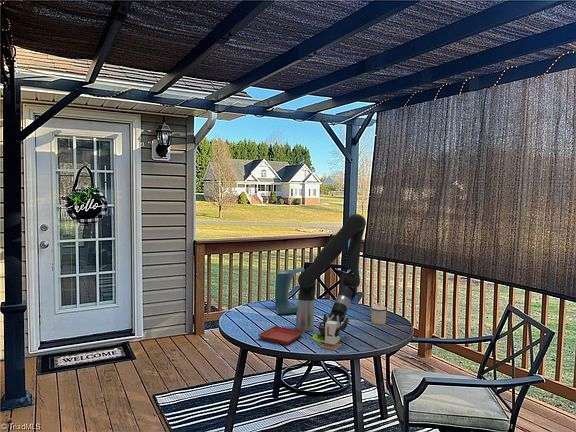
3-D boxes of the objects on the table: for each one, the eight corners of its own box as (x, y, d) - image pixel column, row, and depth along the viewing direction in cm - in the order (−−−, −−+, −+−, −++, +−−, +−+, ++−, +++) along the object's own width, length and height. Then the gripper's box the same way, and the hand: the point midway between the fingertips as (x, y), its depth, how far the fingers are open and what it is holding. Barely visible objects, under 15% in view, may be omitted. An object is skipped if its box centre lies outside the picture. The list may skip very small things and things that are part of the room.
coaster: (320, 347, 206) (320, 345, 206) (327, 342, 213) (327, 341, 213) (335, 350, 202) (335, 349, 202) (341, 346, 209) (341, 344, 209)
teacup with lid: (389, 323, 251) (389, 304, 251) (378, 325, 246) (379, 306, 246) (375, 318, 261) (375, 300, 261) (364, 320, 256) (364, 301, 256)
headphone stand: (315, 307, 284) (314, 266, 285) (311, 316, 257) (310, 271, 257) (277, 307, 288) (276, 267, 288) (270, 316, 260) (268, 272, 261)
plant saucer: (287, 347, 206) (288, 341, 206) (257, 340, 215) (257, 334, 215) (304, 337, 222) (304, 331, 222) (275, 331, 231) (275, 325, 230)
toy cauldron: (346, 338, 221) (347, 318, 221) (328, 345, 211) (329, 323, 210) (324, 331, 232) (324, 312, 231) (306, 337, 221) (307, 317, 220)
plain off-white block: (324, 342, 207) (325, 322, 206) (329, 339, 211) (329, 320, 211) (334, 344, 204) (334, 324, 204) (338, 341, 208) (338, 322, 208)
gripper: (326, 299, 217) (315, 328, 207) (351, 304, 210) (341, 333, 200) (330, 307, 222) (319, 336, 212) (355, 312, 214) (345, 341, 205)
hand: (330, 334), depth 206 cm, fingers closed on plain off-white block, 5 cm apart
